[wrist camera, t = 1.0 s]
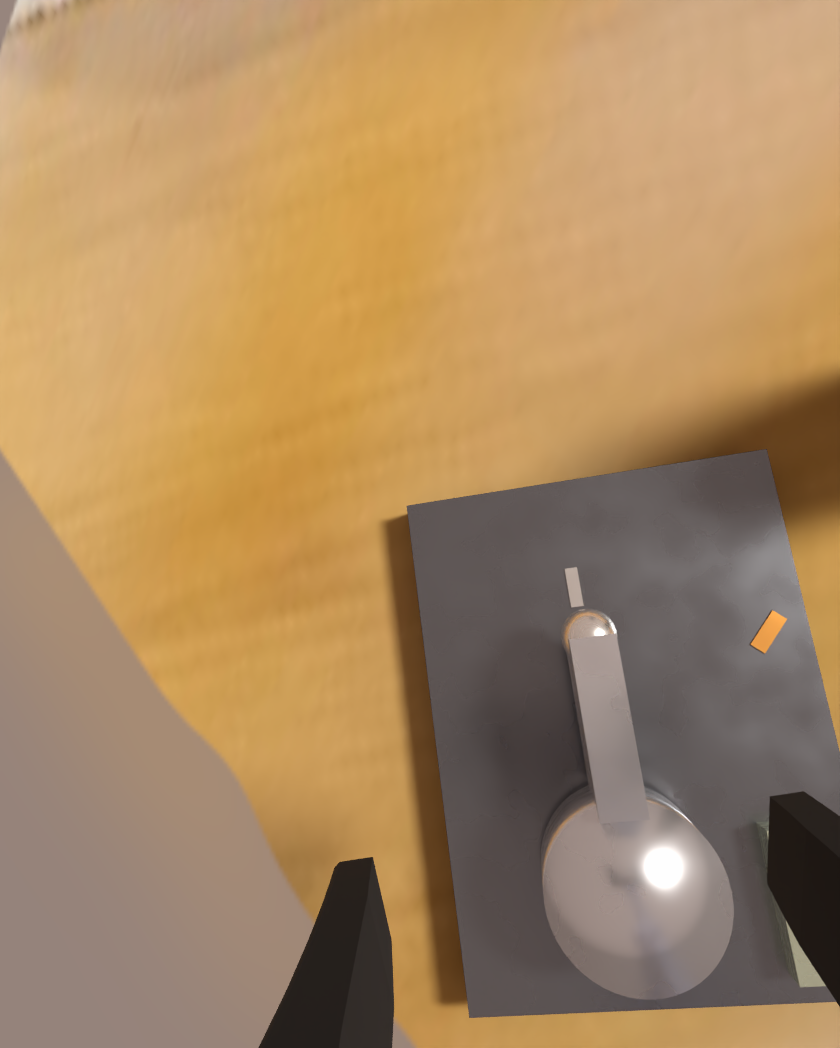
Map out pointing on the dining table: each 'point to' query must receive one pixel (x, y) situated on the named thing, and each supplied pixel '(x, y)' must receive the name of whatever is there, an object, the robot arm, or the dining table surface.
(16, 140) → the dining table surface
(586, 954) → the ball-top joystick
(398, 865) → the dining table surface
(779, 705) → the lever base plate
